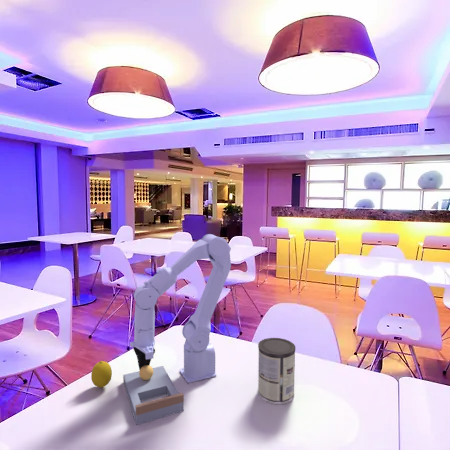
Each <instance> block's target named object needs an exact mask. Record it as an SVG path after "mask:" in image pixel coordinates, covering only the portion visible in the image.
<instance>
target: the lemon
mask: <svg viewBox="0 0 450 450" xmlns="http://www.w3.org/2000/svg"><path fill="white" fill-rule="evenodd" d="M90 375H91V382H92V383H93V385H94V386H95V387H97V388H100V389H103V388H104V387H106V386H107V385H109V384H110V382H111V380H112V375H113V371H112V366H111V365H110V364H109V363H108V362H107V361H103V360H100V361H98V362H97V363H95V364H94V366H93V367H92V370H91V374H90Z"/></svg>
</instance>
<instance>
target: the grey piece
mask: <svg viewBox="0 0 450 450" xmlns="http://www.w3.org/2000/svg"><path fill="white" fill-rule="evenodd" d="M152 368H153V375H152V377H151V378H150V379H148V380H143V379H141V377H140V375H139V371H140V370H138V371H134V372H130V373H126V374H123V375H122V377H123V380H122V381H123V385H124V389H125V391H126V395H127V400H128V401H129V404H130V407H131V411H132V415H133V417H134V421H135V424H136V425H142V424H144V423H147V422H151V421H155V420H158V419H161V418H165V417H167V416H171V415H174V414H177V413H182V412H184V410H185V408H184V407H185V404H184V403H185V402H184V401H185V399H184V397H185V395H184V393H183V392H179V391H178V389H177V388H176V386H175V384H174V383H173V381H172V379H171V378H170V375H169V374H168V372H167V370H166V369H165V367H164V365H161V366H156V367H152ZM165 395H166V397H162V398H157V397H160V396H165ZM152 398H157V399H153V400H150V401H147V402H142V401H145V400H149V399H152Z"/></svg>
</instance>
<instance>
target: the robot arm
mask: <svg viewBox="0 0 450 450" xmlns="http://www.w3.org/2000/svg"><path fill="white" fill-rule="evenodd" d="M230 252H231V247H230V245H229V243H228V241H227V240H226V239H225V238H224V237H222V236H221V237H220V236H216V235H215V234H211V233H207V234H205V235H203V237H202V238H201V239H198V240H197V241H196V242H195V243H194V244H193V245H192V246H191V247H190V248H189V249H188V250H187V251H186V252H184V254H182V255H181V256H180V258H178V259H177V260H176V261H175V262H174V263H173V264H172V265H171V266H169V267H163V268H162V269H160V268H158V269H157V270H156V273H155V274H154V275H153V276H152V277H151V278H149V279H148V280H145V281H144V282H143V284H141V285H138V286H137V288H136V289H135V291H134V293H133V298H134V301H135V304H134V305H135V306H134V326H133V327H134V330H133V331H134V332H133V333H134V334H133V335H134V337H133V338H134V340H133V341H130V342H129V346H130V347H131V348H132V349H133V351H134V353H135V355H136V359H137V365H138V369H139V370H138V371H140V369H141V368H142V367H143V366H144V365H150V364H151V361H152V359H154V354H155V353H156V349H155V344H156V340H155V322H156V315H155V314H156V312H155V306H156V304H157V302H158V298H159V297H161V296H162V295H163V294H165V292H167V291H168V290H169V289H170V288H171V287H172V286H173V285H175V284H176V283H177V281H178V280H177V278H178V276H179V275H180V274H181V273H183V272H184V271H186V270H187V269H188V268H189V267H190V266H191V265H193V264H195V262H197V261H198V260H205V259H209V261H210V263H211V265H212V269H211V272H210V274H209V276H208V279H207V282H206V284H205V286H204V289H203V291H202V294H201V295H200V296H201V297H200V299H199V301H198V304H197V307H196V309H195V312H194V313H193V314H192V315H190V317H189V319H188V321H187V322H186V323H185V324H184V326H183V327H182V330H181V333H182V335H183V338H185V342H184V344H183V368H180V369H179V372H180V373H181V376H182V377H183V378H184V379H185V382H186V383H188V384H190V383H194V382H199V381H202V380H205V379H209V378H213V377H216V376H217V373H216V351H215V348H214V345H213V344H212V343H211V342H210V334H211V331H212V330H211V329H212V327H211V320H212V317H213V315H214V312H215V309H216V307H217V305H218V301H219V300H220V297H221V294H222V291H223V289H224V287H225V284H226V281H227V279H228V275H229V274H230V271H231V269H232V262H231V253H230ZM150 366H151V365H150Z"/></svg>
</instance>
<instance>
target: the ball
mask: <svg viewBox="0 0 450 450" xmlns="http://www.w3.org/2000/svg"><path fill="white" fill-rule="evenodd" d="M153 368H154V367H152V366H151V365H144V366H143V367H142V368H141V369H140V370H138V371H139V375H140V377H141V379H143V380H148V379H150V378H151V377H152V375H153Z"/></svg>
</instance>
